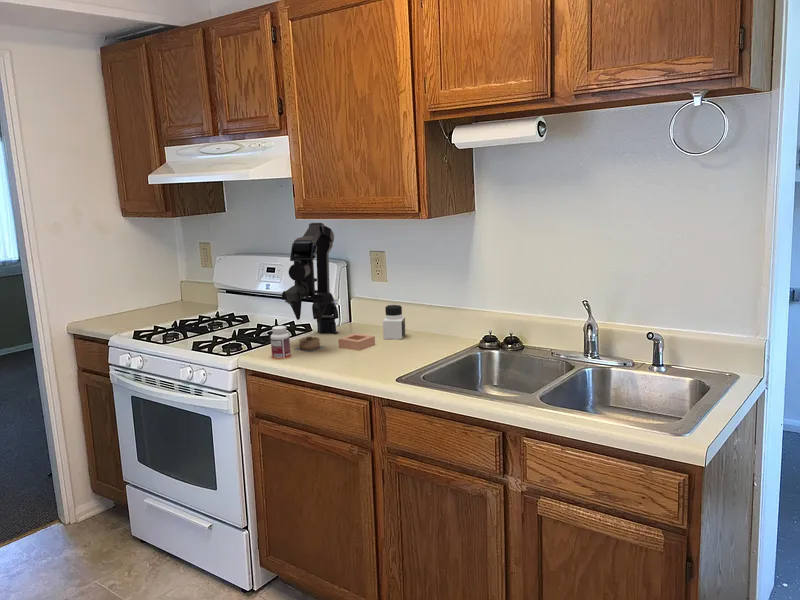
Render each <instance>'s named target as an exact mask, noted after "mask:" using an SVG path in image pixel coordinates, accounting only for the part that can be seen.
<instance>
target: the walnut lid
mask: <svg viewBox="0 0 800 600" xmlns="http://www.w3.org/2000/svg"><path fill="white" fill-rule="evenodd" d="M298 343H299V346H298V347H299V348H300V350H305V351H304V352H306V351H309V350H316V349H319V348H320V346H321V345H320V343H321V342H320V338H319V337H314V336H307V337H303V338H302V337H301V338H300V339H298ZM300 350H299V351H300ZM319 350H320V349H319ZM316 351H317V350H316Z"/></svg>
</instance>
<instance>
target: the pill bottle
mask: <svg viewBox="0 0 800 600" xmlns="http://www.w3.org/2000/svg"><path fill="white" fill-rule="evenodd" d="M271 331H272V334H271V335H270V345H271V347H270V348H271V358H272V359H274V360H284V359H288V358H291V356H292V355H291V353H292V352H291V341H290V334H289V333H288V332H287V326H286V325H277V326H276V325H275V326H273V327H272V329H271Z"/></svg>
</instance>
